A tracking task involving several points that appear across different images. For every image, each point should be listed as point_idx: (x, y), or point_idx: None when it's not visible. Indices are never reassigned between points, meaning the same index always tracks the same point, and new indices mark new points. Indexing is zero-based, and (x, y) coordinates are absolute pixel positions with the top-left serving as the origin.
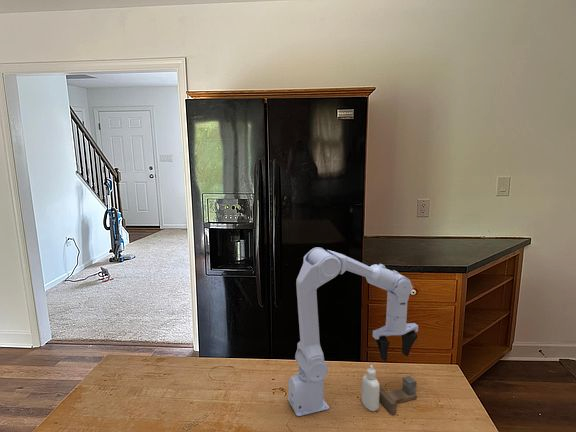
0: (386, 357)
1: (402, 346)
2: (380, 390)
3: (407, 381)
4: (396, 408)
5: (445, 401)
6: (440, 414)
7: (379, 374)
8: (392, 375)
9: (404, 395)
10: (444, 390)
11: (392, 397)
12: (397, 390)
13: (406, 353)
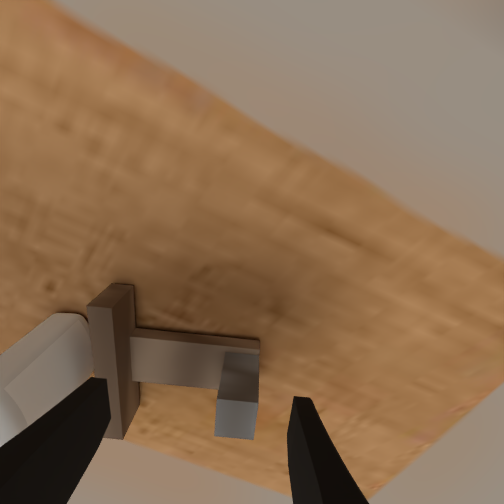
0: (88, 454)
1: (304, 448)
2: (100, 369)
3: (215, 425)
4: (132, 419)
5: (335, 421)
6: (268, 448)
7: (226, 196)
8: (279, 230)
9: (209, 378)
10: (388, 386)
11: (158, 369)
12: (204, 348)
13: (289, 457)
